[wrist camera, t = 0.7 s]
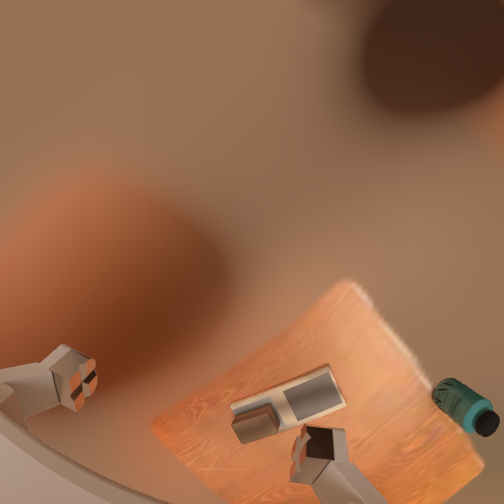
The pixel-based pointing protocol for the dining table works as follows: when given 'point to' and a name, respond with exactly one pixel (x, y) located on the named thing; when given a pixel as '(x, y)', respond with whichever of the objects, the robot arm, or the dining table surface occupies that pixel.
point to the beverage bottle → (466, 407)
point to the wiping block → (256, 423)
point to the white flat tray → (298, 398)
